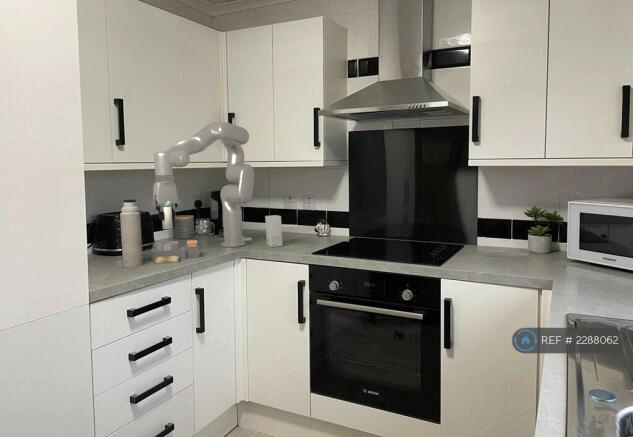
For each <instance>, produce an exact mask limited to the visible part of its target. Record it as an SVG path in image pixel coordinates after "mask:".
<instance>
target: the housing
mask: <svg viewBox="0 0 633 437" xmlns="http://www.w3.org/2000/svg"><path fill="white" fill-rule="evenodd" d="M179 244H180V242H179V241H176V240H164V241H159V242H158V241H157V242H156V243H155V248H151V251H150V258H151V259H150V260H151V261H155V258H156V257H166V256H179V260H184V259H189V258H200V245H199V244H198V243H196V244H197V246H191V247H188V244H185V246H179Z"/></svg>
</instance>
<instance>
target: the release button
mask: <svg viewBox="0 0 633 437" xmlns="http://www.w3.org/2000/svg"><path fill="white" fill-rule="evenodd" d="M197 244H198V239H196V240H186V245H188V247H191V246H197Z"/></svg>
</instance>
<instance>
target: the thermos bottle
mask: <svg viewBox="0 0 633 437" xmlns="http://www.w3.org/2000/svg"><path fill="white" fill-rule="evenodd" d="M136 202H137V200H136V199H123V207H121V210H120V211H121V212H120V213H119V214H120V215H119V219H120V220H119V221H120V236H121V250H122V251H121V252H122V256H121V257H122V266H123V267H127V268H133V267H134V268H135V267H139V266H140V267H141V266H142V265H144V259H143V245H142V244H143V240H142V239H143V238H142V227H141V226H142V223H141V221H142V220H141V212H139V207H138V206H137V203H136Z"/></svg>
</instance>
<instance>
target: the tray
mask: <svg viewBox="0 0 633 437" xmlns="http://www.w3.org/2000/svg"><path fill="white" fill-rule="evenodd" d="M169 263H170V264H171V263H172V264H173V263H180V259H179V256H166V257H156V258H155V260H154V264H155V265H156V264H169Z"/></svg>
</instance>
